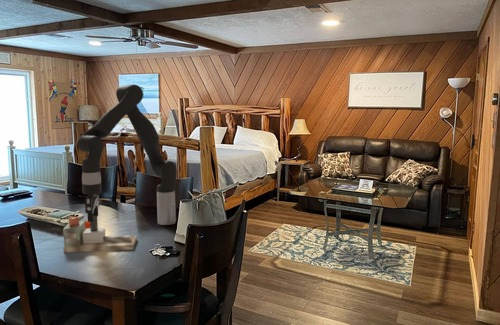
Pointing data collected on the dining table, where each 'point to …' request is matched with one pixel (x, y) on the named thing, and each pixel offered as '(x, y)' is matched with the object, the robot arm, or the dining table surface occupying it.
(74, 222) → the button
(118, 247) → the rail base
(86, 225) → the clementine
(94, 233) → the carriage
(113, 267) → the dining table surface
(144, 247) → the dining table surface
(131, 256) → the dining table surface
